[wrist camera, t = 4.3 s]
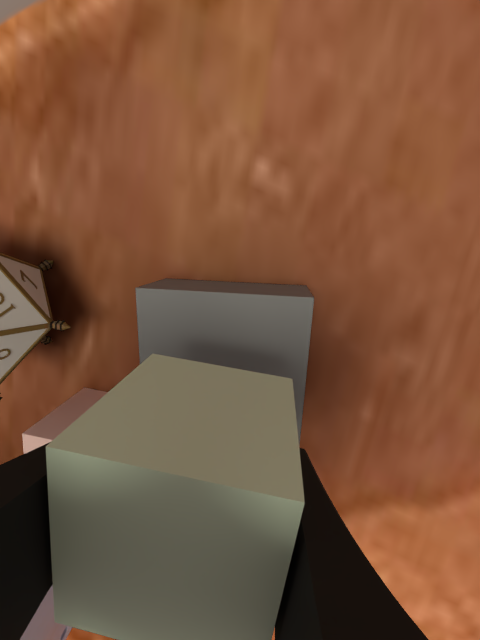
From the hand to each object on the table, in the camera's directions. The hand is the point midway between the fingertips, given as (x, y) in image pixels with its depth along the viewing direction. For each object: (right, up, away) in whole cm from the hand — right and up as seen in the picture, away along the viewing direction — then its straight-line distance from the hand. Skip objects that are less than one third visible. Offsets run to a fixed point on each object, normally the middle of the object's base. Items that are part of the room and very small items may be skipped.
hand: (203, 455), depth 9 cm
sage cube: (0, 0, +1) cm, 2 cm away
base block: (+1, +3, +8) cm, 9 cm away
